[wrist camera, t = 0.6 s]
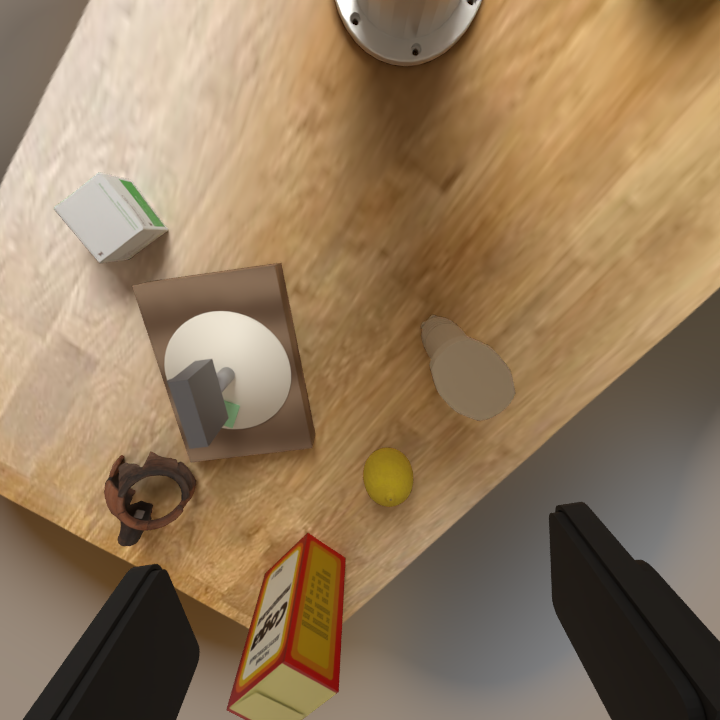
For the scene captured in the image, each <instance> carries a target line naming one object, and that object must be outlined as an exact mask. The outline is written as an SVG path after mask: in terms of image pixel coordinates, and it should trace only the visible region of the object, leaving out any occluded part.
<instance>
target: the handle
mask: <svg viewBox="0 0 720 720" xmlns="http://www.w3.org/2000/svg"><path fill="white" fill-rule="evenodd" d="M421 329H422V342H423V345H424V348H425V350H426V352H427V354H428V356H429V357H430V358H431V361H430V364H429V365H430V370H431V374H432V378H433V381H434V384H435V387H436V389H437V391H438V393H439V394H440V396H441V397H442V398H443V399H444V400H445V402H446V403H447V404H448V405H449V406H450V407H451V408H452V409H453V410H454V411H456V412H457V413H459V414H461V415H464V416H466V417H469V418H471V419H474V420H477V421H481V420H486V419H490V418H492V417H494V416H496V415H497V414H499V413H501V412H502V411H503V410H504V409H505V408H506V407H507V406H508V405H509V404H510V403H511V401H512V400H513V398H514V395H515V388H514V382H513V377H512V374H511V371H510V369H509V368H508V366H507V365H506V363H505V362H504V361H503V360H502V359H501V357H500V356H499V355H498V354H497V353H496V352H495V351H494V350H493V349H492V348H491V347H490V346H489V345H487V344H485V343H483V342H480V341H478V340H476V339H473V338H471V337H468V336H467V335H466V334H465V333H464V331H463V330H462V329H461V328H460V327H459V326H458V325H457V324H455V323H454V322H452V321H451V320H449V319H447V318H444V317H437V316H436V315H431V316H430V317H429V319H428V320H427V321H425V322H422V324H421Z"/></svg>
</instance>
